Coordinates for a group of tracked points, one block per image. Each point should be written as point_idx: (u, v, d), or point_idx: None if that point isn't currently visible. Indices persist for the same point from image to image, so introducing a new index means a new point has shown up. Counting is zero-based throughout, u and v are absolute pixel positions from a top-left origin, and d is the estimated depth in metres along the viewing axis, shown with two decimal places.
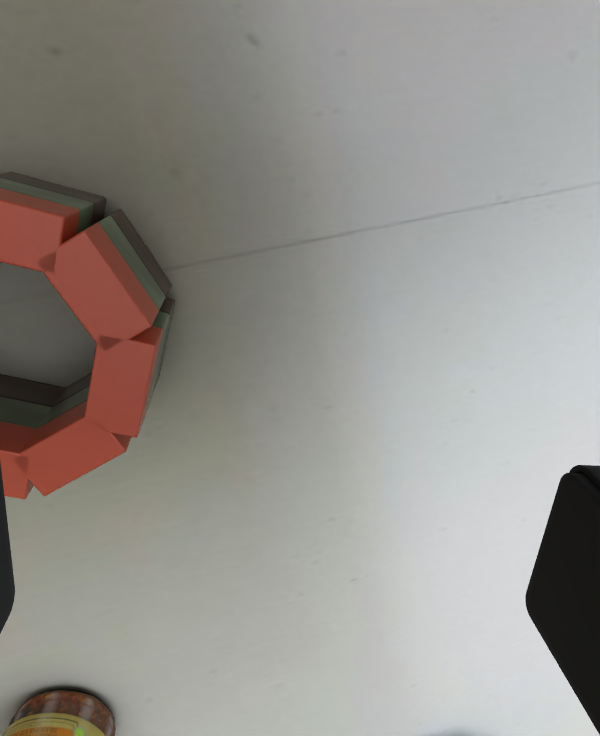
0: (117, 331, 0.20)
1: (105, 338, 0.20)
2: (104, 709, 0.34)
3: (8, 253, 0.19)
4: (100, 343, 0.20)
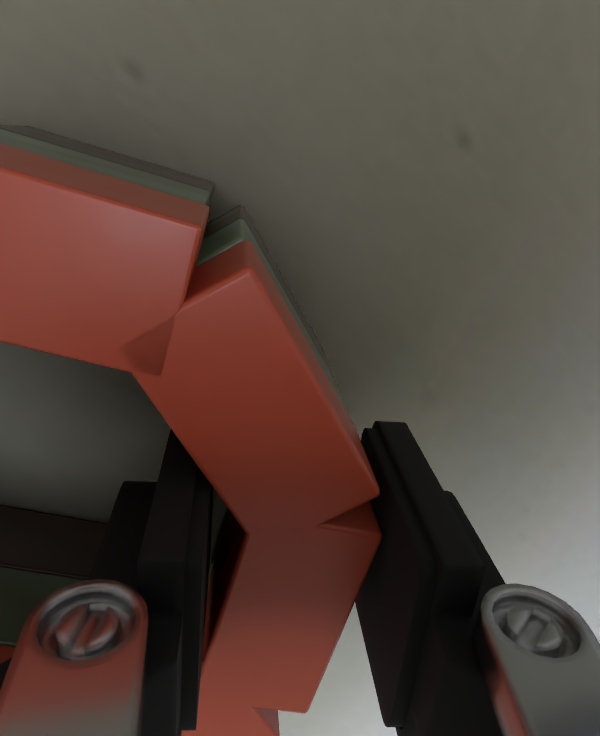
0: (251, 688, 0.09)
1: (221, 684, 0.09)
2: None
3: (228, 469, 0.08)
4: (205, 686, 0.09)
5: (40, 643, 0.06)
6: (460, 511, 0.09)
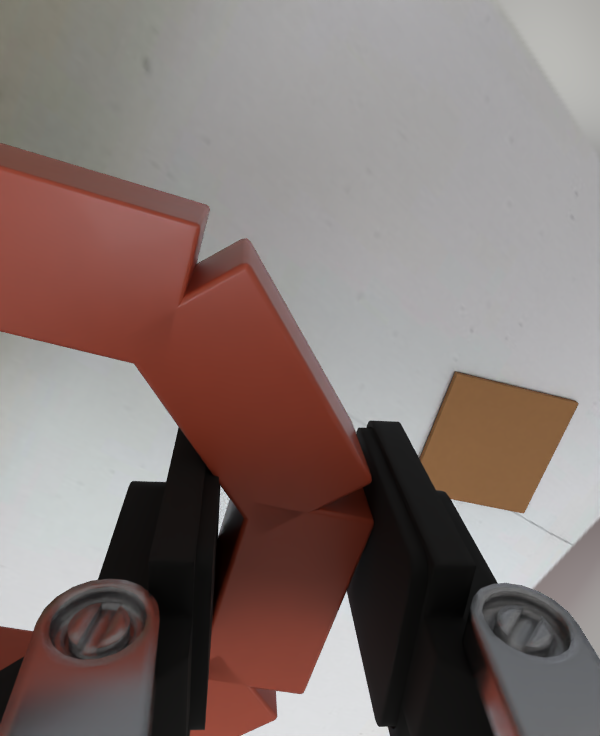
0: (249, 668, 0.10)
1: (221, 664, 0.10)
2: None
3: (227, 456, 0.08)
4: None
5: (53, 643, 0.06)
6: (454, 511, 0.09)
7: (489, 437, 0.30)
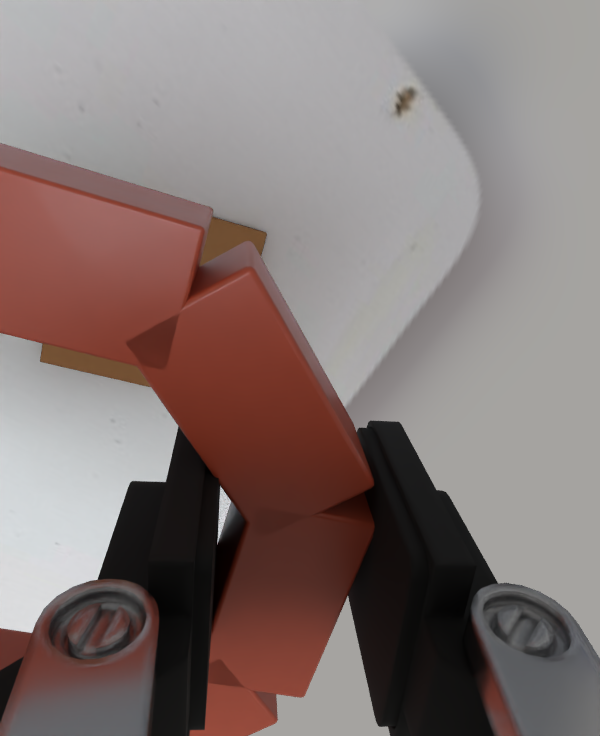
0: (250, 672, 0.10)
1: (221, 668, 0.10)
2: None
3: (229, 459, 0.08)
4: None
5: (52, 643, 0.06)
6: (454, 511, 0.09)
7: None
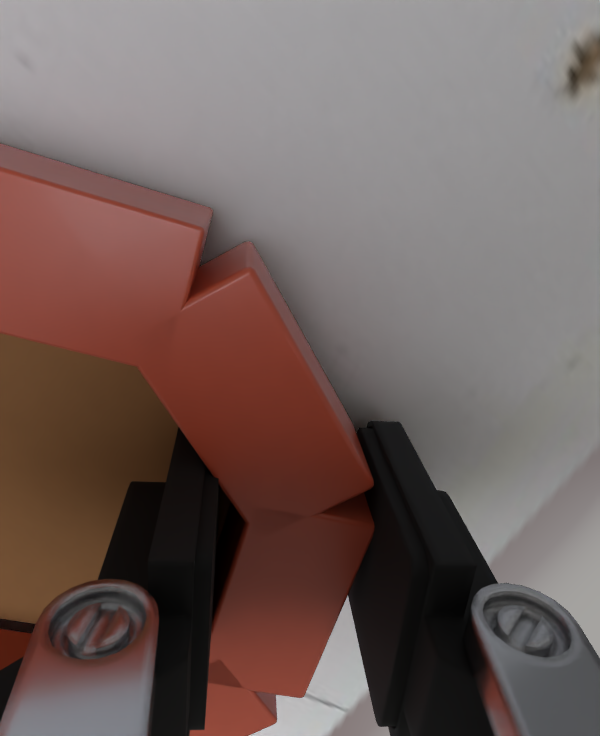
0: (250, 672, 0.10)
1: (221, 668, 0.10)
2: None
3: (229, 460, 0.08)
4: None
5: (52, 643, 0.06)
6: (454, 510, 0.09)
7: (20, 446, 0.10)
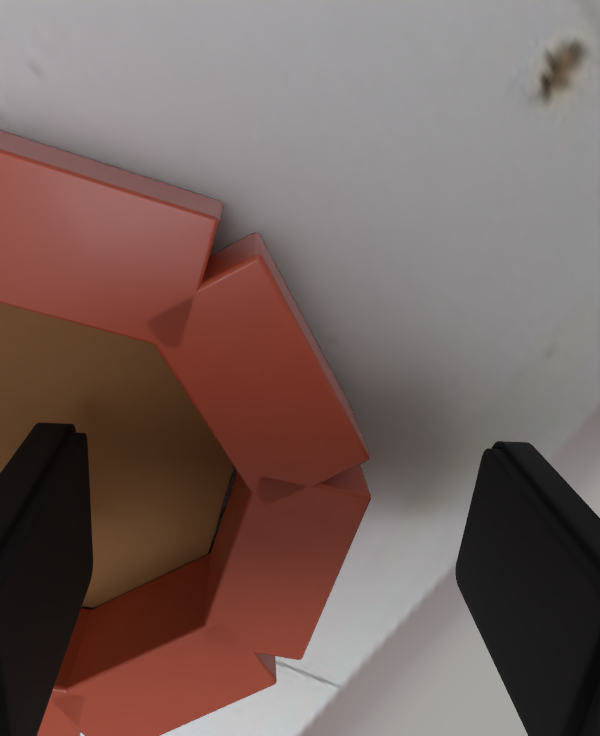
0: (252, 634, 0.10)
1: (225, 629, 0.10)
2: None
3: (235, 432, 0.09)
4: (211, 631, 0.10)
5: None
6: None
7: (29, 429, 0.11)
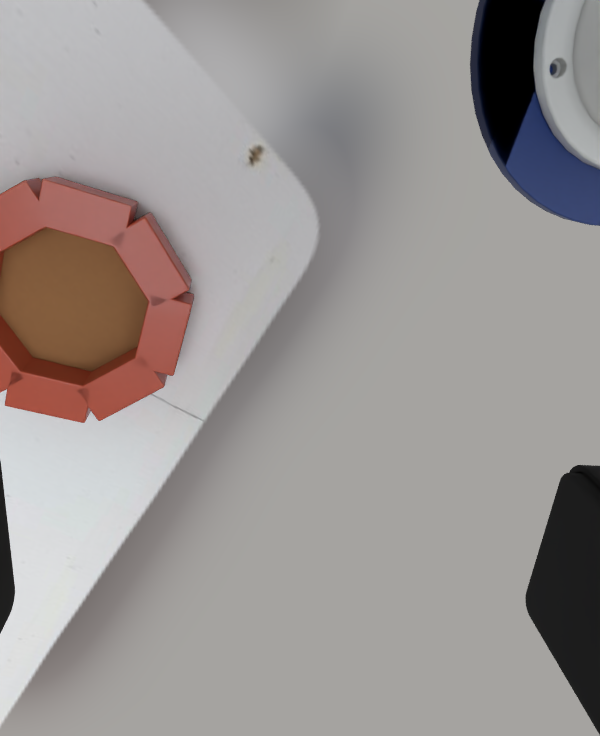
0: (152, 362, 0.28)
1: (142, 360, 0.28)
2: None
3: (141, 278, 0.27)
4: (137, 360, 0.28)
5: None
6: None
7: (67, 288, 0.28)
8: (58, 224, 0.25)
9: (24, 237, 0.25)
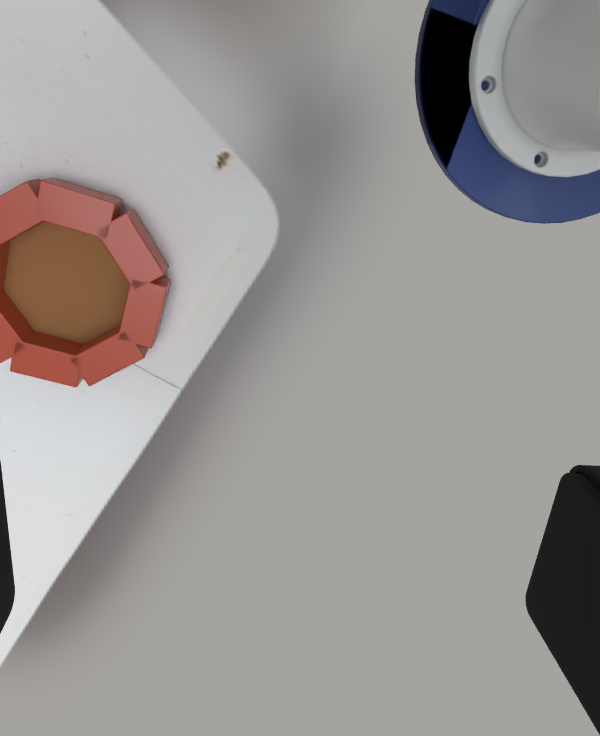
0: (134, 336, 0.33)
1: (125, 334, 0.33)
2: None
3: (123, 264, 0.31)
4: (121, 334, 0.33)
5: None
6: None
7: (63, 272, 0.33)
8: (54, 218, 0.30)
9: (26, 229, 0.30)
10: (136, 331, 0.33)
